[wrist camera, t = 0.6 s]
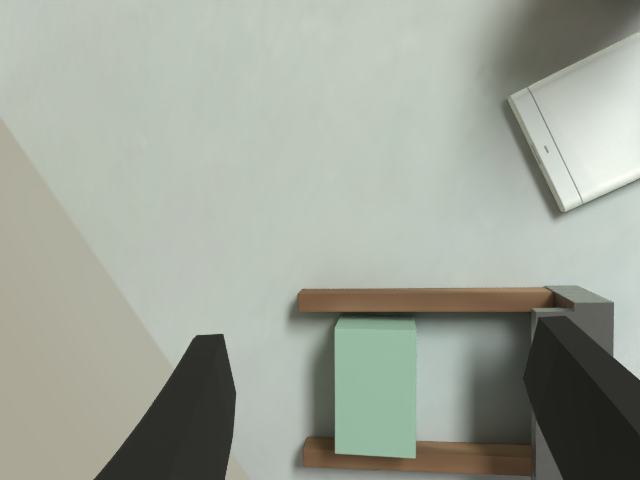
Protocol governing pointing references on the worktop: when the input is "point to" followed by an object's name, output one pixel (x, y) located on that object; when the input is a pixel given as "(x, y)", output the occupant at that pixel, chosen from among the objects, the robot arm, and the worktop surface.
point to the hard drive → (586, 123)
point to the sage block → (375, 386)
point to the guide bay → (541, 302)
